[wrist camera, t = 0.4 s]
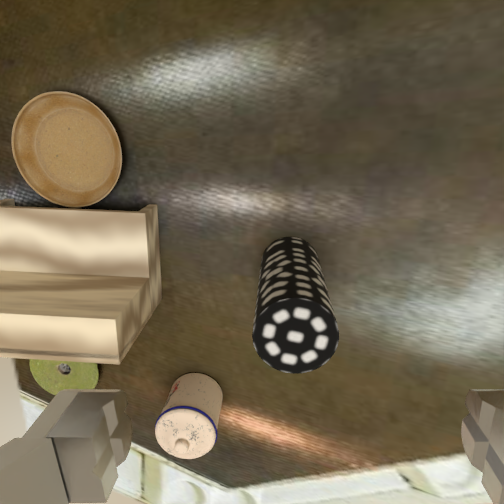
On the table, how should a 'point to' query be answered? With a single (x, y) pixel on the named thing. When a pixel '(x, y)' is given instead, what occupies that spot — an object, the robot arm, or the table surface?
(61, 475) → the robot arm
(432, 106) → the table surface
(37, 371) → the green disc with hole
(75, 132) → the plant saucer
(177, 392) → the teacup with lid
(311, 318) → the white-spotted black cylinder
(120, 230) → the wooden step block
